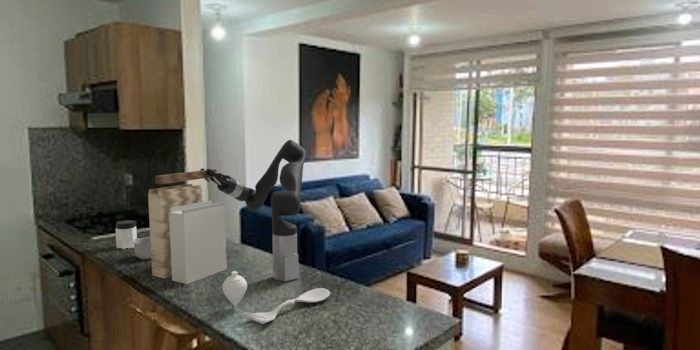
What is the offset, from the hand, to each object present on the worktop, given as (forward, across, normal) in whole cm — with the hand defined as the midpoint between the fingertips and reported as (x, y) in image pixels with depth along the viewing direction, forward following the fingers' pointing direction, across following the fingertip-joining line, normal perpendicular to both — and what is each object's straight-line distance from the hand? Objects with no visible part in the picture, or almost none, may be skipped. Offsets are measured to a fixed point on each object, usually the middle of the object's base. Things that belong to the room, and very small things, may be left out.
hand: (204, 170), depth 193 cm
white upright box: (-7, +11, +41) cm, 43 cm away
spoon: (0, +62, +46) cm, 77 cm away
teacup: (-11, -28, +38) cm, 49 cm away
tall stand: (-7, -1, +40) cm, 41 cm away
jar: (-17, -50, +35) cm, 64 cm away
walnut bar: (+6, 0, +7) cm, 9 cm away
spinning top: (+7, +46, +49) cm, 68 cm away
